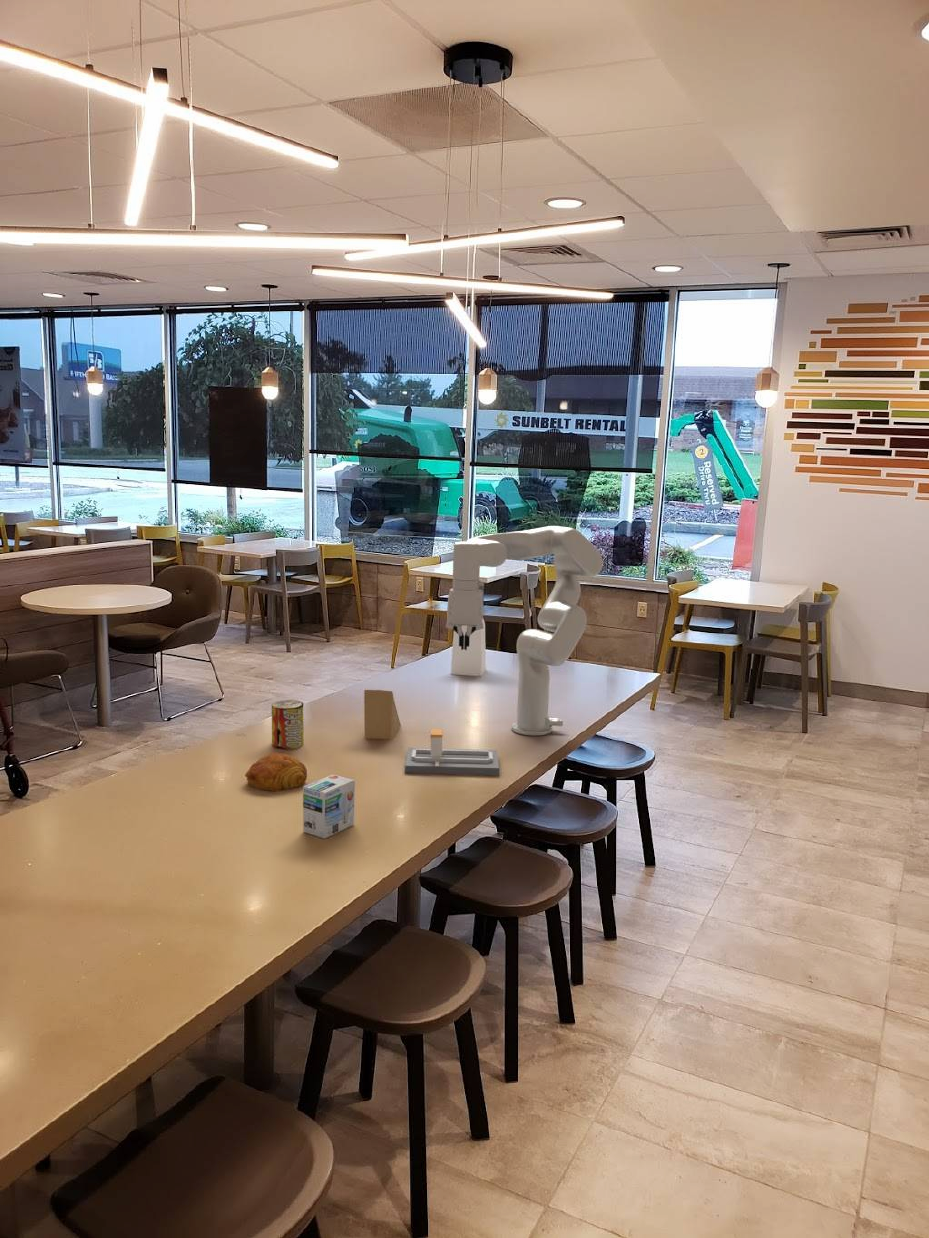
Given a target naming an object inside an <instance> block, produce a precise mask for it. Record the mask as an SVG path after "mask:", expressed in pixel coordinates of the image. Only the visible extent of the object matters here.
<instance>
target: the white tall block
mask: <svg viewBox="0 0 929 1238" xmlns="http://www.w3.org/2000/svg"><path fill="white" fill-rule="evenodd" d="M482 622H483V629H480V630H475V631H474V632H473V633H472V634H471V635H470V639H469V647H467V650H465V649H463V650H461V646H459V635H458V634H457V633H456V632H455V631H454V630H453V634H452V635H453V638H452V648H451V649H452V650H451V663H450V664H451V665H450V675H458V676H459V675H460V676H462V675H463V676H474V677H483V674H485V671H486V670H487V665H486V664H487V663H486V662H487V660H486V659H487V658H486V654H487V653H486V652H487V651H486V622H485V620H484V618H483V620H482ZM456 626H457V625H456ZM462 632H463V635H464V639H465V633H466V632H467V626H466V625H462Z"/></svg>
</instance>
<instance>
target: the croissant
mask: <svg viewBox="0 0 929 1238" xmlns="http://www.w3.org/2000/svg"><path fill="white" fill-rule="evenodd" d="M244 776H245V778H246V781H247V782H248V784H250V785H251V786H252V787H255V788H256V789H259V790H263V791H272V792H278V791H279V792H280V791H283V790H289V789H293V788H296V787H301V786H303V785H304V784H305V783H306V781H307V777H308V770H307V767H306V766H305V764H304V763H303V762H301V761H300V760H299V759H298V758H295V757H294V756H292V755H290V754H289V755H288V754H285V753H281V752H273V753H268V754H267V755H264V756H263V757H261V758H259V759H258V760H257V761H255V763H252V764H251V766H250V767H249V769H248V770H247V771H246V773H245V775H244Z"/></svg>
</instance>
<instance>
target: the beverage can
mask: <svg viewBox="0 0 929 1238" xmlns="http://www.w3.org/2000/svg"><path fill="white" fill-rule="evenodd" d="M304 723H305V722H304V702H303V701H301V700H296V699H295V700H294V699H283V700H276V701H274V702H272V703H271V745H272V747H273V748H274V749H279V750H293V749H299V748H301V747H303V746H304V745H305V743H304V729H305V728H304Z"/></svg>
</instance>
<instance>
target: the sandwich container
mask: <svg viewBox="0 0 929 1238" xmlns="http://www.w3.org/2000/svg"><path fill="white" fill-rule="evenodd" d="M363 692H364V693H363V696H364V699H363V700H364V701H363V703H364V711H363V713H364V717H363V718H364V719H363V720H364V726H363V727H364V729H363V730H364V738H365V739H374V740H375V739H376V740H393V738H394V737H395V736H396V734H397V733H398V731H399V729H400V727H401V726H402V725H401V721H400V716H399V714H398V711H397V706H396V703H395V698H394V693H393V691H392V690H382V689H364V691H363Z"/></svg>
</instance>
